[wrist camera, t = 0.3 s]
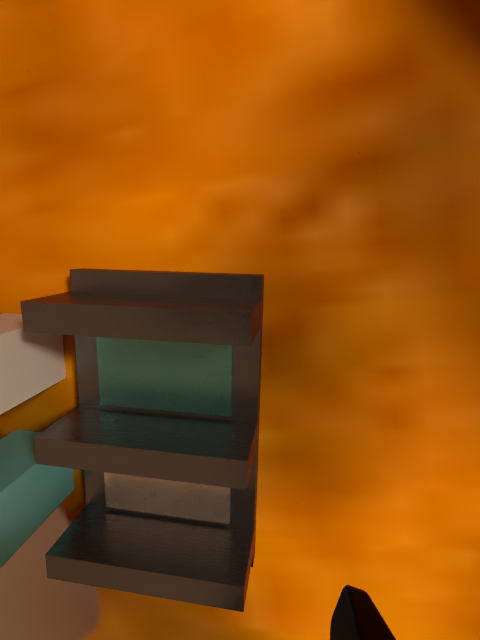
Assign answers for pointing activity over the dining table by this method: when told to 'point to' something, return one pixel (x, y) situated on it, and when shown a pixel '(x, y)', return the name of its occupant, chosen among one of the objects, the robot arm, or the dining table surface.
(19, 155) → the dining table surface
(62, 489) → the teal plug
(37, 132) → the dining table surface
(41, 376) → the off-white plug
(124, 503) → the slot rack
